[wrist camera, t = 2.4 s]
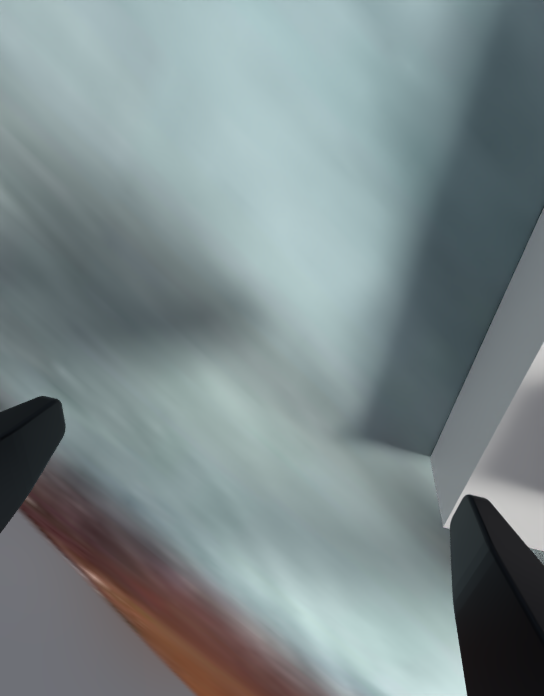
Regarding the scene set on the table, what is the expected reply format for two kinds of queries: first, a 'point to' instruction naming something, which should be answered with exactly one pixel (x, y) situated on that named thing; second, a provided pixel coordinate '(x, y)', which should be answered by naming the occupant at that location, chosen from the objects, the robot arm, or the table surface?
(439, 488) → the switch unit
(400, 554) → the table surface
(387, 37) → the table surface
